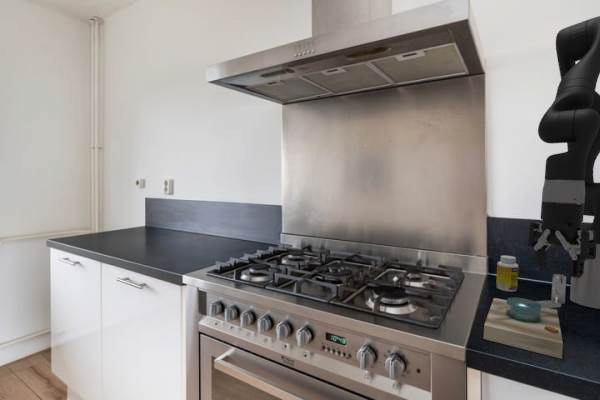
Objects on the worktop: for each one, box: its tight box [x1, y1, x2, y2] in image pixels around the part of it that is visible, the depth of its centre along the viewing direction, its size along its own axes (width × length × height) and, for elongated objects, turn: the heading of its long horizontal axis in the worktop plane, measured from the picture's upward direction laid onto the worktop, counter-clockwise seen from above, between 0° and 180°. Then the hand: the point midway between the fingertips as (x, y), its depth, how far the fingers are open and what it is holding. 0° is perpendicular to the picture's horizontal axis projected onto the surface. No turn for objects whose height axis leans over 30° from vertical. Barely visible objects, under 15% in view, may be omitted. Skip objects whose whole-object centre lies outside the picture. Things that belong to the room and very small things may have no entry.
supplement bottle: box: [495, 255, 519, 293], centre depth 101 cm, size 6×6×10 cm
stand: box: [483, 297, 564, 359], centre depth 74 cm, size 20×13×4 cm, turn 144°
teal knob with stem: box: [494, 273, 567, 322], centre depth 74 cm, size 17×6×9 cm, turn 99°
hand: (557, 271), depth 75 cm, fingers open, 8 cm apart
